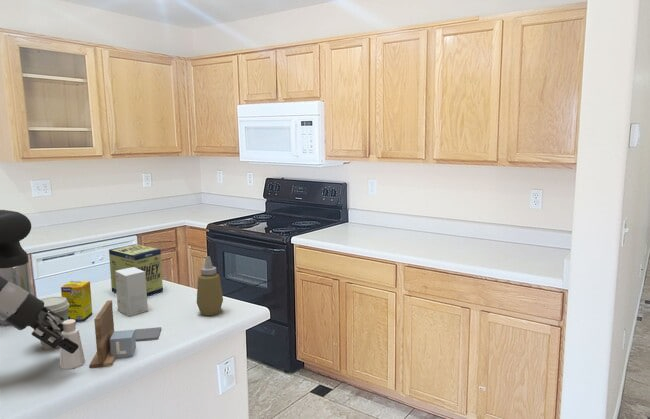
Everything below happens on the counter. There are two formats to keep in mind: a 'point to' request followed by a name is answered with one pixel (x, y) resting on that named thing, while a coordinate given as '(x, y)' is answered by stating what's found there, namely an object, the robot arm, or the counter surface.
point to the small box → (131, 291)
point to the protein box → (138, 265)
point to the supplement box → (78, 299)
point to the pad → (147, 334)
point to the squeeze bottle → (209, 290)
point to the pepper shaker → (73, 334)
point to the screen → (103, 337)
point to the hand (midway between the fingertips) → (76, 342)
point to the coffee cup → (56, 311)
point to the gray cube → (123, 343)
